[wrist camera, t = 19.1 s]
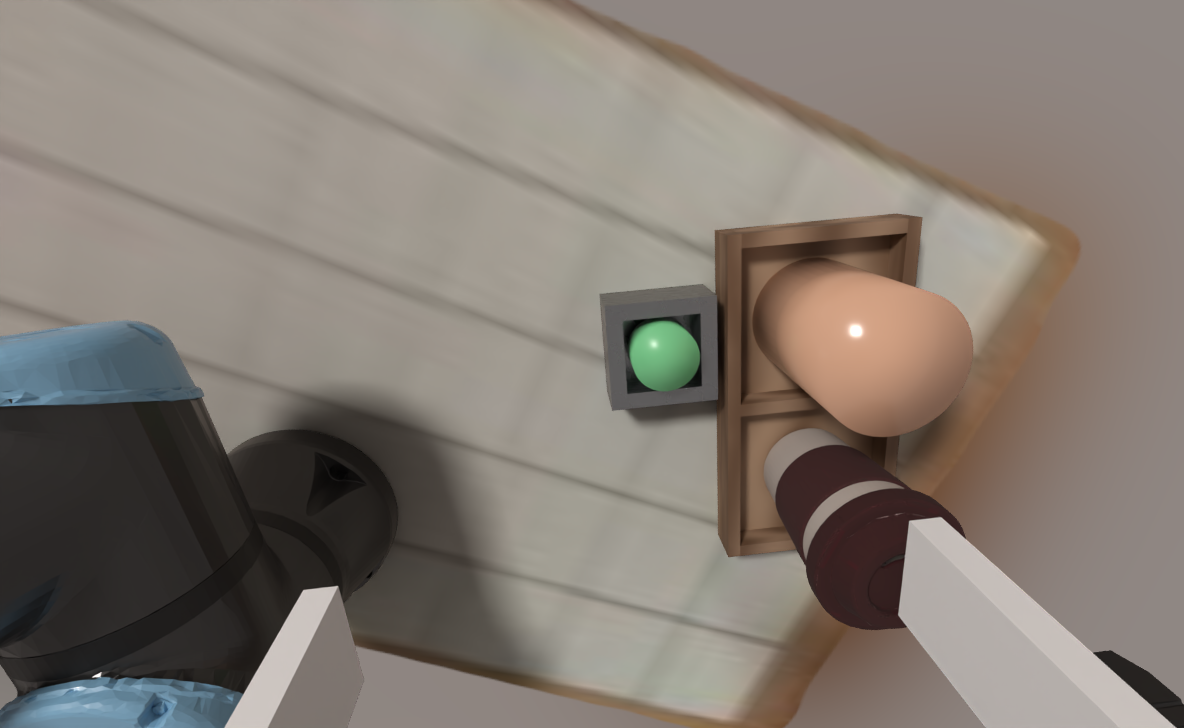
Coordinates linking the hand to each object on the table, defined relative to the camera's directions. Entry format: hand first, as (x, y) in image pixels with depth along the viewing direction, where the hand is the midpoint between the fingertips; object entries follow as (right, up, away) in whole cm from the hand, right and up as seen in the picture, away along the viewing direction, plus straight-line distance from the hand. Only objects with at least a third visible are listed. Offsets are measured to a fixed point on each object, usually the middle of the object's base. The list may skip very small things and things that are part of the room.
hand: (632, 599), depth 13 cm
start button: (+4, +7, +30) cm, 31 cm away
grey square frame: (+4, +7, +32) cm, 33 cm away
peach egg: (+16, +9, +31) cm, 36 cm away
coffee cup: (+17, -3, +36) cm, 40 cm away
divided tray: (+16, +3, +35) cm, 39 cm away
